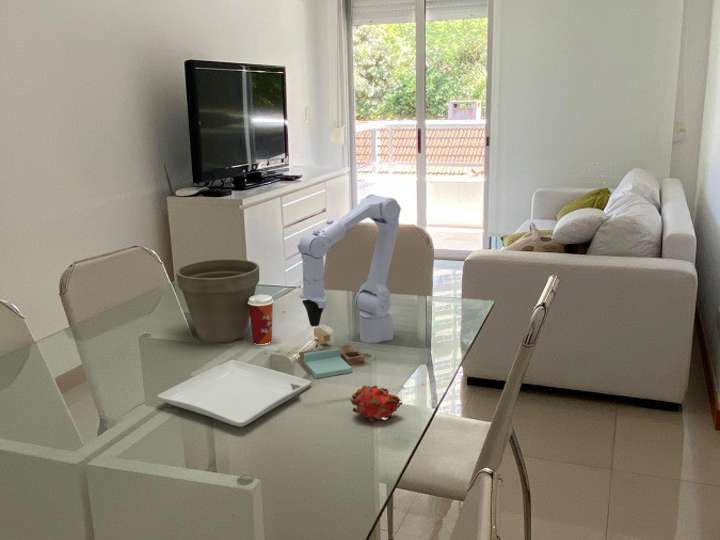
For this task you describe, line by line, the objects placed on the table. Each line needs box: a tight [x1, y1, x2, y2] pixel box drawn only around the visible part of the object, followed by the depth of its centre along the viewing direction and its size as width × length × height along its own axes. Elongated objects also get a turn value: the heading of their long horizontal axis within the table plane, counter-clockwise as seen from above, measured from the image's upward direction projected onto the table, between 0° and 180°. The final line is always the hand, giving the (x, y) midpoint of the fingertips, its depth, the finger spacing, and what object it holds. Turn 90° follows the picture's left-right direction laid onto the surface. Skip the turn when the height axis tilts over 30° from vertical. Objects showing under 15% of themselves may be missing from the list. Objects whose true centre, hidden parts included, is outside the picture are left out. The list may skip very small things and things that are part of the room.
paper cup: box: [248, 294, 275, 344], centre depth 209 cm, size 8×8×14 cm
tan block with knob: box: [313, 327, 331, 345], centre depth 205 cm, size 7×2×5 cm, turn 28°
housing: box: [296, 344, 372, 376], centre depth 193 cm, size 18×16×4 cm
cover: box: [304, 348, 353, 379], centre depth 186 cm, size 10×10×3 cm
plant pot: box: [175, 258, 260, 344], centre depth 214 cm, size 25×25×22 cm
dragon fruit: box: [350, 385, 403, 422], centre depth 162 cm, size 8×8×12 cm
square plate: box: [156, 359, 313, 428], centre depth 172 cm, size 27×27×4 cm
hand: (314, 325), depth 194 cm, fingers closed
